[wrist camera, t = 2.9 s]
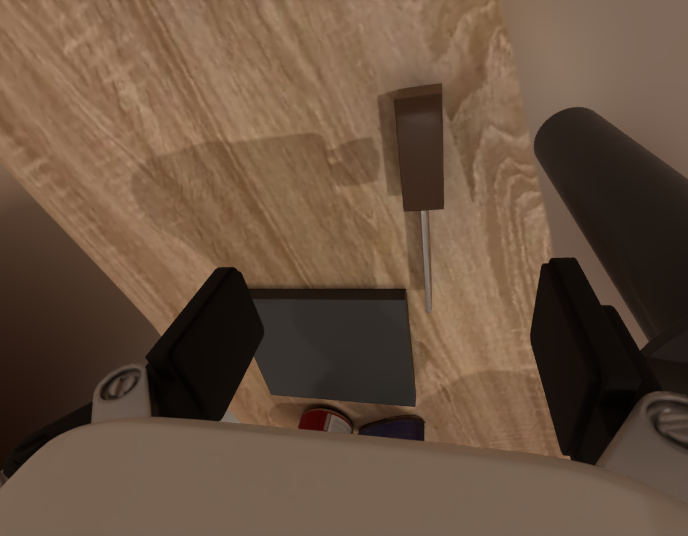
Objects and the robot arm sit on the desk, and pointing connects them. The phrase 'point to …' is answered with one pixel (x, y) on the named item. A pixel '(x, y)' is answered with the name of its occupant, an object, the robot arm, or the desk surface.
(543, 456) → the robot arm
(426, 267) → the knife
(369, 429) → the flask
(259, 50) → the desk surface
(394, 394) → the board
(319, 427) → the soda can
